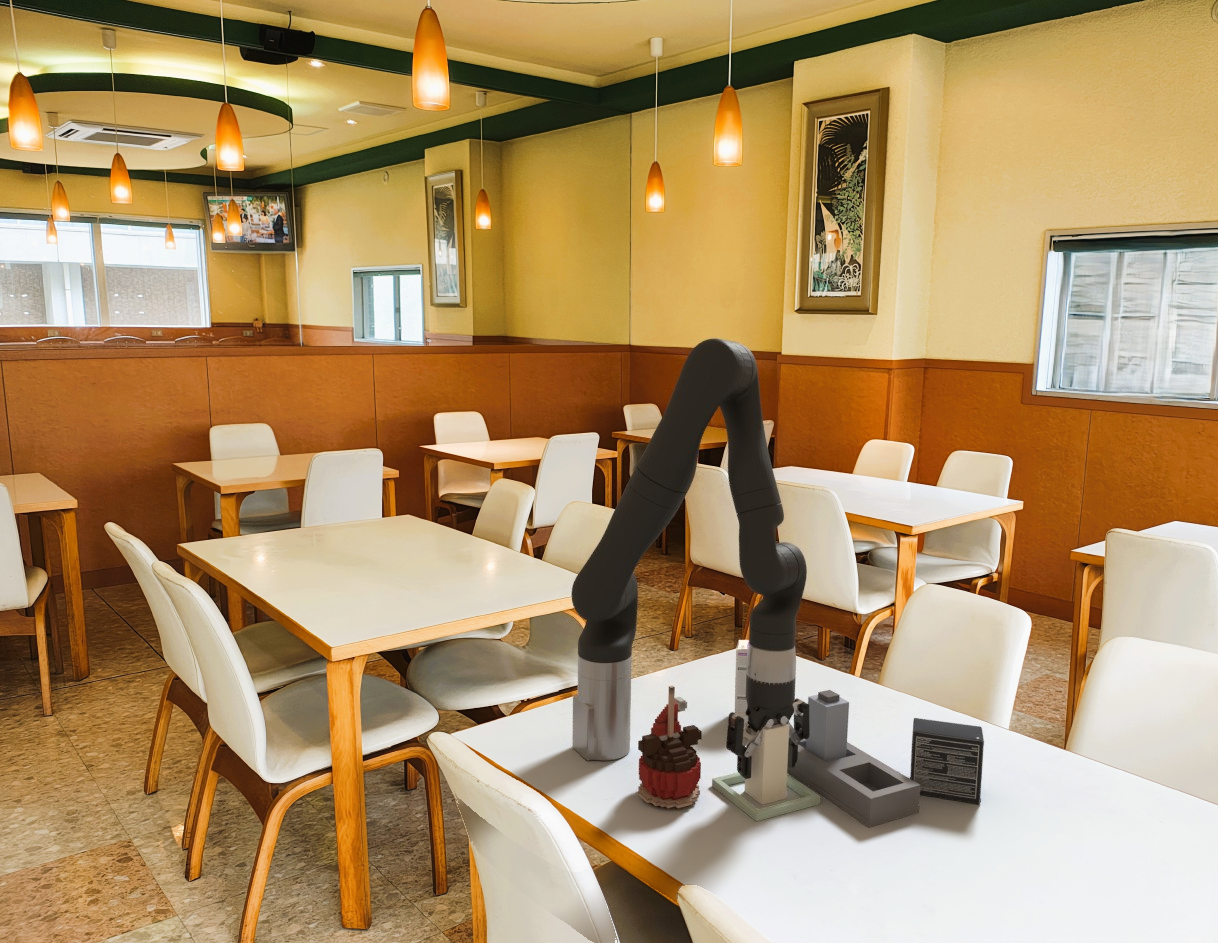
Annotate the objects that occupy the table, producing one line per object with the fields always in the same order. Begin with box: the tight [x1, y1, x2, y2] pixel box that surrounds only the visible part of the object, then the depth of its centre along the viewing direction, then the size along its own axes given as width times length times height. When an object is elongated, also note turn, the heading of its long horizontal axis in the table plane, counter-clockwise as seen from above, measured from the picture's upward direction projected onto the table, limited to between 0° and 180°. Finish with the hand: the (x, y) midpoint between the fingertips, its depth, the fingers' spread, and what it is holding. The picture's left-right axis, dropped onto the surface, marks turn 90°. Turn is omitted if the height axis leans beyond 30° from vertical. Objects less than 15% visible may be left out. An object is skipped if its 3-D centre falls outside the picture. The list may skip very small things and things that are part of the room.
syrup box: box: [734, 639, 749, 725], centre depth 170 cm, size 6×6×14 cm
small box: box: [909, 717, 985, 805], centre depth 144 cm, size 11×6×10 cm, turn 71°
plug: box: [744, 718, 789, 805], centre depth 141 cm, size 5×5×13 cm
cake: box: [637, 685, 703, 809], centre depth 140 cm, size 11×9×18 cm
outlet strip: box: [787, 739, 921, 828], centre depth 144 cm, size 10×21×4 cm, turn 27°
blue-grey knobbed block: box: [806, 689, 850, 762], centre depth 148 cm, size 5×5×13 cm
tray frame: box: [711, 772, 821, 822], centre depth 142 cm, size 12×12×1 cm
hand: (767, 771), depth 142 cm, fingers open, 8 cm apart
